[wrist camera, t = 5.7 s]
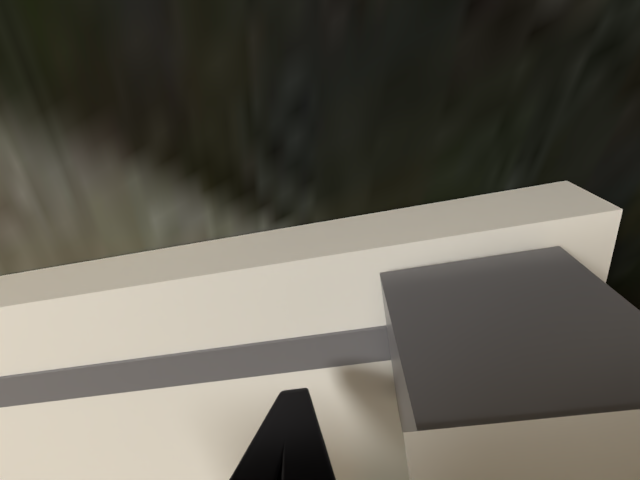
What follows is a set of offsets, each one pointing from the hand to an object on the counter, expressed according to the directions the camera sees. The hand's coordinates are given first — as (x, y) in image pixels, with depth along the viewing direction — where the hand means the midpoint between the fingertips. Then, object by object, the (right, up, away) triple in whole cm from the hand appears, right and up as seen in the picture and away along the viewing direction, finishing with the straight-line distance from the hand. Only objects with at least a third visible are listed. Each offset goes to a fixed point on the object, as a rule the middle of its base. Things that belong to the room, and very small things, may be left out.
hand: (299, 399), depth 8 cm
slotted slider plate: (-2, -4, +6) cm, 8 cm away
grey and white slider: (+4, +1, +1) cm, 5 cm away
